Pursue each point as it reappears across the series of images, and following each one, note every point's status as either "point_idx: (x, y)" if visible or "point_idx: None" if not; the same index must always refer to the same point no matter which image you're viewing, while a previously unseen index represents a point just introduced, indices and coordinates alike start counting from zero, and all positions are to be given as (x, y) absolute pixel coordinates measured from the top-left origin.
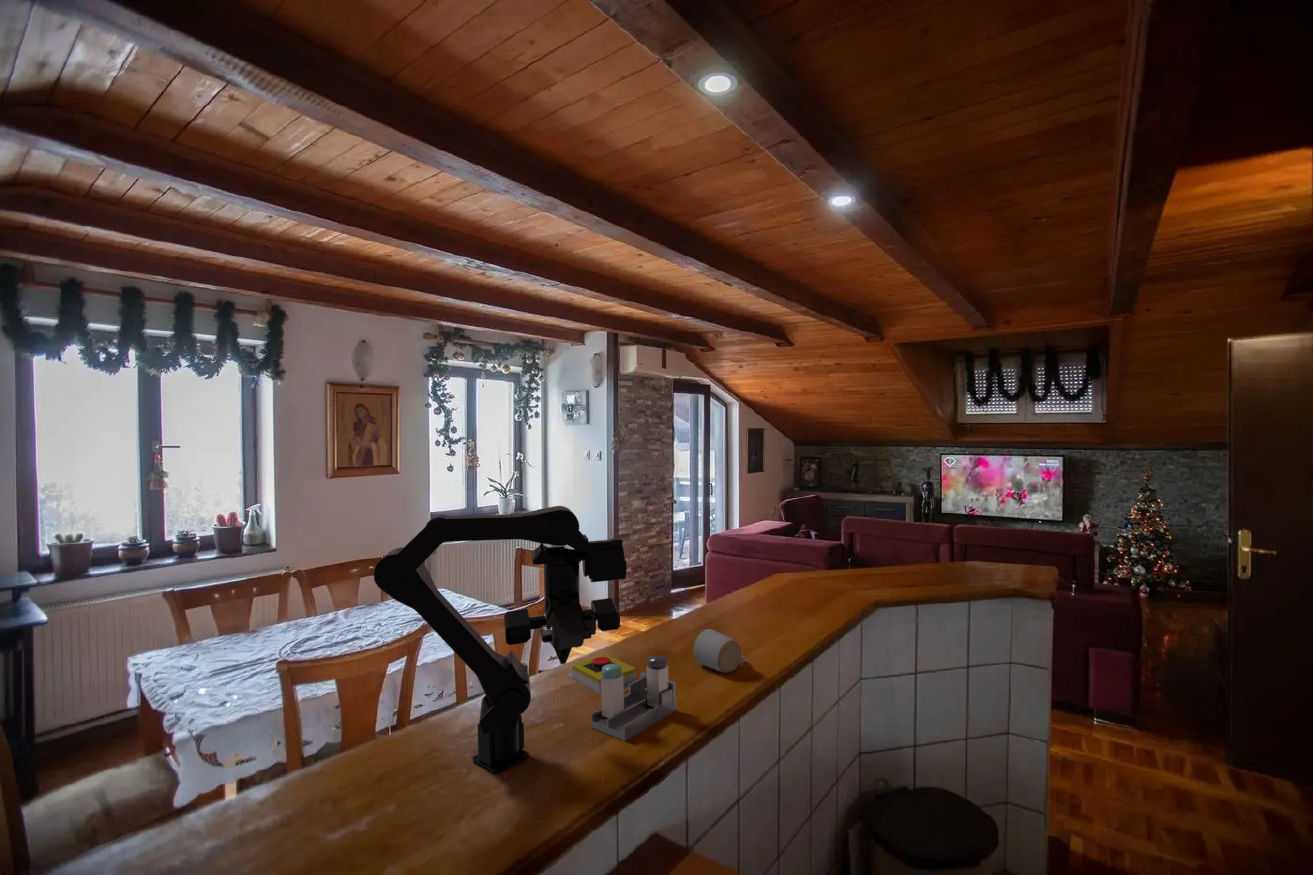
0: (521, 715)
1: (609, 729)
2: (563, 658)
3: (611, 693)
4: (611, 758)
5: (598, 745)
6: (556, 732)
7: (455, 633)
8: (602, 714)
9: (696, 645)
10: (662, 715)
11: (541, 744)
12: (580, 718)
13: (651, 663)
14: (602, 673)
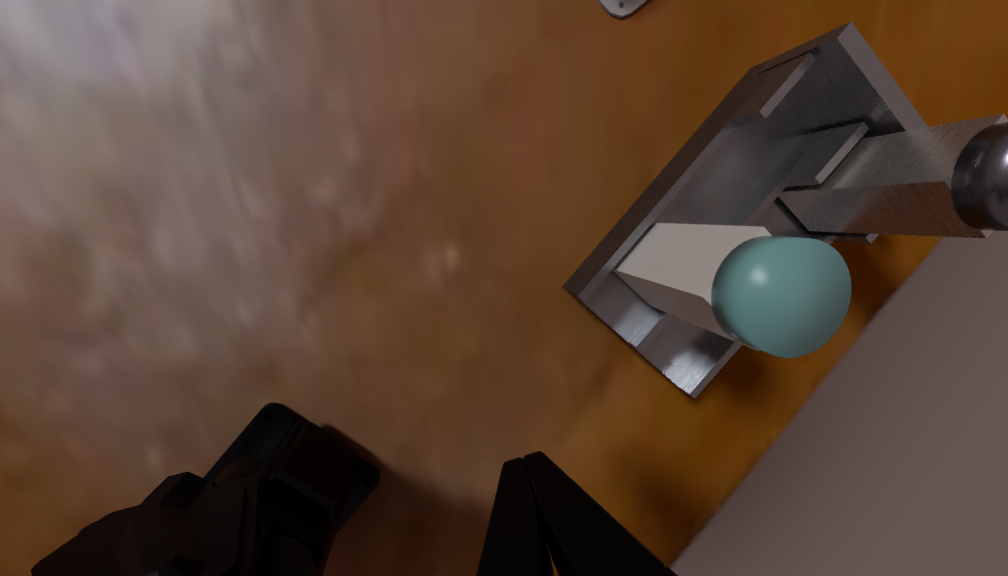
0: (320, 553)
1: (631, 345)
2: (551, 555)
3: (705, 325)
4: (627, 471)
5: (590, 402)
6: (444, 315)
7: None
8: (615, 271)
9: None
10: None
11: (405, 394)
12: (519, 212)
13: (999, 217)
14: (724, 311)
